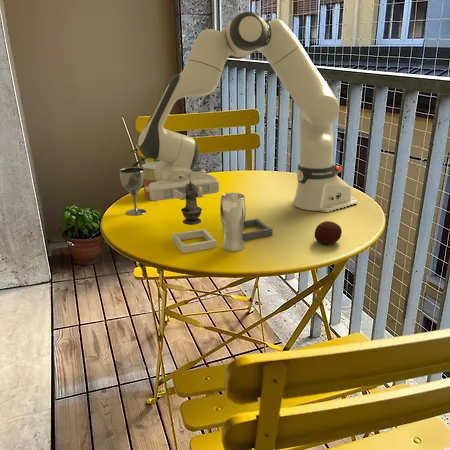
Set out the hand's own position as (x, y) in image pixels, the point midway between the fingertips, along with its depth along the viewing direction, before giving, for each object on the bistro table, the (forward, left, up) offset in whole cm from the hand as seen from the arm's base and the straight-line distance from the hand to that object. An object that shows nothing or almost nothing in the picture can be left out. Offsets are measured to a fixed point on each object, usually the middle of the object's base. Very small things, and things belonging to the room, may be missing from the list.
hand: (191, 196), depth 124 cm
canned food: (-2, -50, -15) cm, 52 cm away
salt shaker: (0, -1, -8) cm, 8 cm away
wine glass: (+10, -35, -15) cm, 39 cm away
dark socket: (-18, -2, -15) cm, 23 cm away
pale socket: (0, -1, -15) cm, 15 cm away
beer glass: (-10, +6, -15) cm, 19 cm away
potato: (-35, +14, -15) cm, 41 cm away
